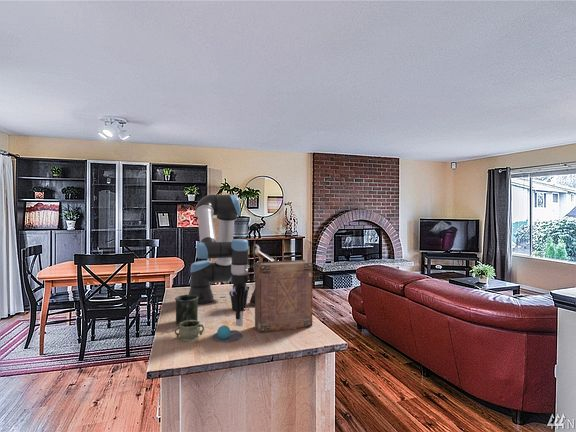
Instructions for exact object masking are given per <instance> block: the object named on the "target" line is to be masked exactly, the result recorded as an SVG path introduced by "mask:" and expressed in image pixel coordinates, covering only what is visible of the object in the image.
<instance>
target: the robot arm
mask: <svg viewBox="0 0 576 432" xmlns="http://www.w3.org/2000/svg"><path fill="white" fill-rule="evenodd" d="M194 211H195V216H196V217H197V222H198V223H197V224H198V232H199V233H198V234H199V242H197V243H196V246H195V247H196V248H195V249H196V252H195V253H196V254H195V255H196V258H197V259H201V260H198V261H195V262H193V263H191V265H190V271H189V273H190V285H189V286H190V288H189V292H188V294H187V295H197V296H198V297H199V298H198V305H201V304H208V303H212V302H213V301H214V293H213V292H212V291H213V290H212V288H211V286H212V285H211V283H224V282H225V283H228V282H231V283H232V285H233V286H232V290H230V291H229V292H228V294H229V296H230V302H231V309H232V312H235V326H237V327H243V324H244V312H245V311H246V308H247V302H248V294H249V290H250V286H247V283H248V282H249V274H248V272H249V248H250V247H249V240H248V239H246V238H245V239H244V238H236V239H235V238H234V231H235V229H234V228H235V221H236V220H238V217H239V216H241V203H240V199H239V197H238V196H237V195H234V194H233V195H232V194H208V195H205V196H203V197H202V198H201V199H200V200H199V201H198V202H197V204H196V206H195V209H194ZM213 216H216V219H217V220H218V240H217V239H216V232H215V224H214V218H213ZM202 259H203V260H202ZM207 259H214V262H212V261H211V260H207Z"/></svg>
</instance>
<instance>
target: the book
mask: <svg viewBox="0 0 576 432" xmlns="http://www.w3.org/2000/svg"><path fill="white" fill-rule="evenodd" d="M254 265H255V266H254V289H255V307H254V327H255V328H256V329H257V330H258V332H259V333H260V334H261V333H262V334H263V333H272V332H279V331H285V330H286V331H288V329H289V330H295V329H294V328H297V329H302V328H301V327H305V328H307V327H306V326H312V327H313V274H314V273H313V269H314V268H313V265H314V264H313V263H312V262H306V261H305V259H299V260H298V259H296V260H279V261H277V260H275V261H274V262H271V261H262V262H258V261H256V262H255V263H254Z"/></svg>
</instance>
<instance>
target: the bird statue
mask: <svg viewBox="0 0 576 432" xmlns="http://www.w3.org/2000/svg"><path fill="white" fill-rule="evenodd" d="M254 246H255V247H256V248H254V255H255V256H256V257H258V261H257V262H264V258H265V259H267V260H269V262H274V261H276V260H275V259H274V258H273V257H271V256H270V255H269V254H266V253H263V252H262V251H261V247H260V246H259V244H257V243H256V244H255V245H254ZM249 306H251V307H254V306H255V288H254V290H253V291H252V293H251V297H250V300H249Z"/></svg>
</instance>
